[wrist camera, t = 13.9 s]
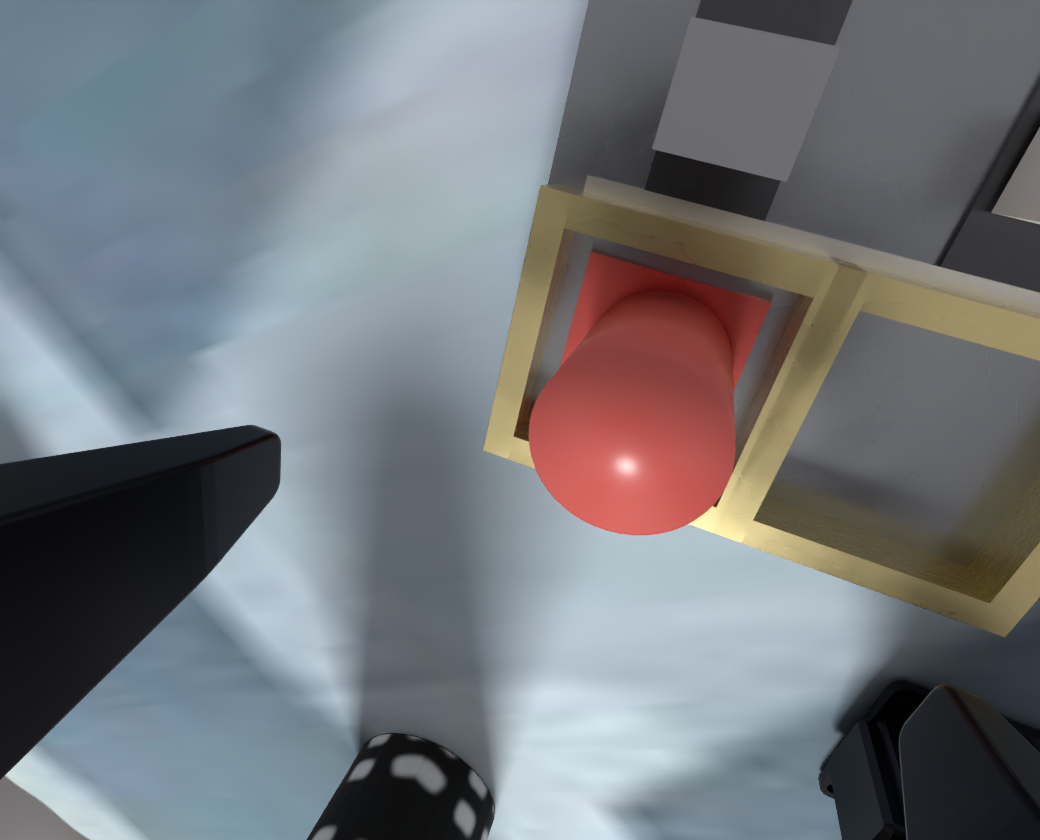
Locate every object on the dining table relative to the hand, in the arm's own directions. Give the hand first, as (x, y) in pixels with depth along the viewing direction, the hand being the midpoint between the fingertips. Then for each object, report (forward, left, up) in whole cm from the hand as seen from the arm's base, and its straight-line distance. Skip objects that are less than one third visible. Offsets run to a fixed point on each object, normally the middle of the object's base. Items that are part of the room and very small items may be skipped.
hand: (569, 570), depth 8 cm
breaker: (0, -6, -10) cm, 11 cm away
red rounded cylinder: (0, 0, -10) cm, 10 cm away
